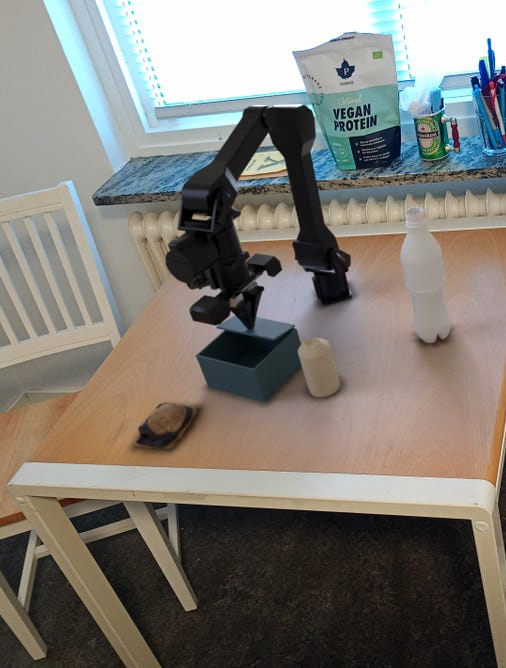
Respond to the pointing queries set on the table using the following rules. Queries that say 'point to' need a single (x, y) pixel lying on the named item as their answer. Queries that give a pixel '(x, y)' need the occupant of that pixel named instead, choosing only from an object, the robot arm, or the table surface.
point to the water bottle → (424, 278)
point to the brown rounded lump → (165, 426)
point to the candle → (319, 367)
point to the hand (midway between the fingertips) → (250, 328)
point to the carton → (250, 363)
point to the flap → (257, 328)
